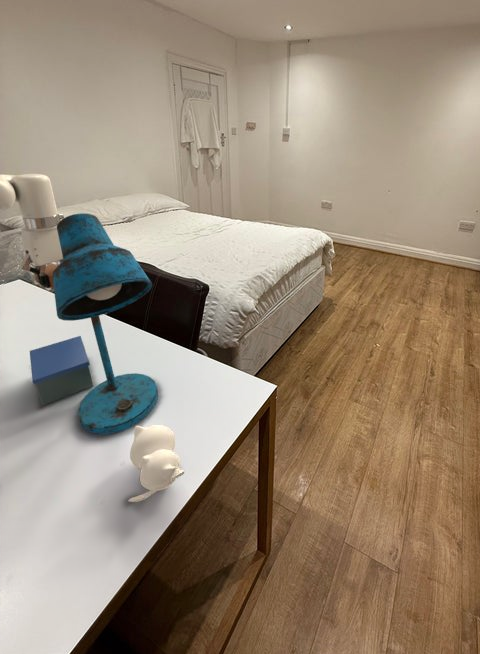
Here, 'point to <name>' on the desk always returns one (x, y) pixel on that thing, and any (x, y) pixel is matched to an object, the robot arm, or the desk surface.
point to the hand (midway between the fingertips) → (57, 282)
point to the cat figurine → (155, 458)
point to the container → (60, 369)
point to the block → (49, 274)
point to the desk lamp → (97, 299)
